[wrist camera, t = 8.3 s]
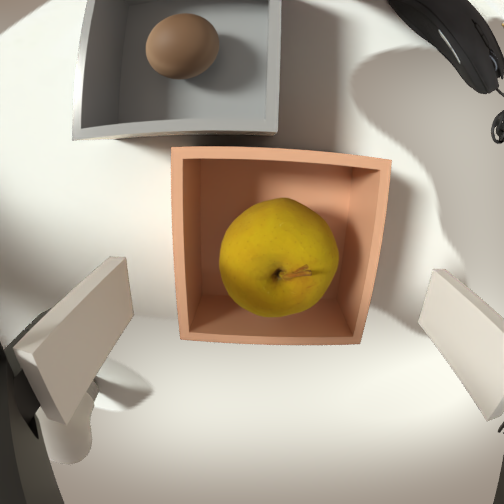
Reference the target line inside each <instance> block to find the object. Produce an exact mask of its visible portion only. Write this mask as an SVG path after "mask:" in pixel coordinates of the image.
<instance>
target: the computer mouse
mask: <svg viewBox="0 0 504 504" xmlns="http://www.w3.org/2000/svg"><path fill="white" fill-rule="evenodd" d="M388 2H389V4H390V5H391V6H392V8H393V9H394V10H395V12H396V13H397V14H398V15H399V16H400V17H401V18H402V19H403V21H404V22H405V23H406V24H407V25H408V26H409V27H410V28H411V29H412V30H413V31H415V32H416V33H417V34H418V35H420V36H421V37H422V38H424V39H425V40H426V41H428V42H429V43H431V44H432V45H433V46H435V47H436V48H437V50H438V51H439V52H440V53H441V54H442V55H443V56H444V57H445V58H446V59H447V60H448V61H449V62H450V63H451V64H452V65H453V67H454V68H455V69H456V70H457V72H458V73H459V75H460V76H461V78H462V79H463V80H464V81H465V82H466V84H467V85H469V86H470V87H471V88H473V89H474V90H475V91H477V92H478V93H481V94H487V93H491V92H492V91H494V90H496V91H497V92H498V93H499V94H501V95H502V96H503V97H504V93H502V92H501V91H500V90H499V89H498V87H499V84H498V80H497V78H499V77H500V76H501V79H503V75H504V57H503V54H502V52H501V50H500V47H499V45H498V43H497V41H496V39H495V37H494V35H493V33H492V31H491V29H490V28H489V26H488V24H487V23H486V21H485V20H484V18H483V17H482V16H481V15H480V13H479V12H478V11H477V10H476V9H475V8H474V6H473V5H472V4H471V3H470V2H469V1H468V0H388ZM502 26H503V27H504V23H502ZM502 121H503V123H502ZM496 126H497V128H496V134H497V135H498V136H499V141H498V140H496V139H495V135H494V128H495V127H496ZM491 135H492V139H493V141H494V142H495V143H497V144H501V143H503V142H504V110H503V111H502V112H500V113H499V114H498V115H497V116H496V117H495V119H494V121H493V124H492V128H491Z"/></svg>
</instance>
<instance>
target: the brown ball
mask: <svg viewBox="0 0 504 504" xmlns="http://www.w3.org/2000/svg"><path fill="white" fill-rule="evenodd" d="M218 51H219V37H218V34H217V31H216V29H215V28H214V26H213V25H212V24H211V23H210V22H209V21H208V20H206V19H205V18H203V17H201V16H198V15H195V14H189V13H182V14H176V15H172V16H169V17H167V18H165V19H164V20H162V21H161V22H159V23H158V24H157V25H156V26H155V27H154V28H153V30H152V31H151V33H150V34H149V37H148V39H147V42H146V56H147V59H148V61H149V63H150V65H151V66H152V68H153V69H154V70H155V71H156V72H158V73H159V74H161V75H162V76H165V77H167V78H170V79H178V80H180V79H189V78H192V77H195V76H197V75H200V74H201V73H203V72H204V71H206V70H207V69H208V68H209V67H210V66H211V65H212V63H213V62H214V60H215V59H216V57H217V54H218Z"/></svg>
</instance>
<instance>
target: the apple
mask: <svg viewBox="0 0 504 504" xmlns="http://www.w3.org/2000/svg"><path fill="white" fill-rule="evenodd" d="M338 263H339V251H338V248H337V244H336V241H335V238H334V236H333V233H332V231H331V229H330V227H329V225H328V224H327V223H326V221H325V220H324V219H323V218H322V217H321V216H320V215H319V214H317V213H316V212H314V211H313V210H311V209H310V208H308V207H307V206H305V205H303V204H301V203H299V202H297V201H296V200H293V199H290V198H276V199H272V200H267V201H263V202H260V203H257V204H255V205H253V206H251V207H250V208H248V209H247V210H245V211H244V212H243V213H242V214H241V215H240V216H238V217H237V218H236V219H235V220H234V221H233V222H232V223H231V225H230V226H229V228H228V229H227V231H226V233H225V235H224V238H223V240H222V243H221V249H220V257H219V268H220V273H221V278H222V281H223V284H224V286H225V288H226V290H227V292H228V294H229V296H230V297H231V298H232V299H233V300H234V302H236V303H237V304H238V305H239V306H240V307H242V308H244V309H245V310H247V311H249V312H251V313H253V314H256V315H258V316H262V317H283V316H287V315H291V314H295V313H300V312H302V311H305V310H307V309H309V308H311V307H312V306H313V305H315V304H316V303H317V302H318V301H319V300H320V299H321V297H322V296H323V295H324V293H325V292H326V290H327V288H328V287H329V285H330V283H331V281H332V279H333V277H334V275H335V273H336V271H337V268H338Z"/></svg>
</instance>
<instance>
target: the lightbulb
mask: <svg viewBox="0 0 504 504" xmlns="http://www.w3.org/2000/svg"><path fill="white" fill-rule="evenodd" d="M98 392H99V389H98V386H97V384H96V383H95V382H94V381H92V383H91V384H90V386H89V388H88V389H87V391H86V393H85V394H84V396H83V398H82V400H81V401H80V403H79V405H78V407H77V408H76V410H75V412H74V414H73V415H72V417H71V419H70V421H69V422H68V424H67V425H64V424H61V423H58V422H55V421H52V420H50V419H47V417H46V415H45V413H44V412H43V410H42V408H41V407H40V408H39V409H38V410H37V412H36V415H37V417H38V419H39V421H40V426H41V430H42V434H43V438H44V442H45V446H46V450H47V453H48V457H49V459H50V460H52V461H54V462H56V463H60V464H74V463H77V462H80V461H81V460H83V459H84V458H85V457H86V456H87V455H88V453H89V451H90V449H91V444H92V434H91V426H90V417H91V413H92V410H93V408H94V401H95V399H96V397H97V395H98Z"/></svg>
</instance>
